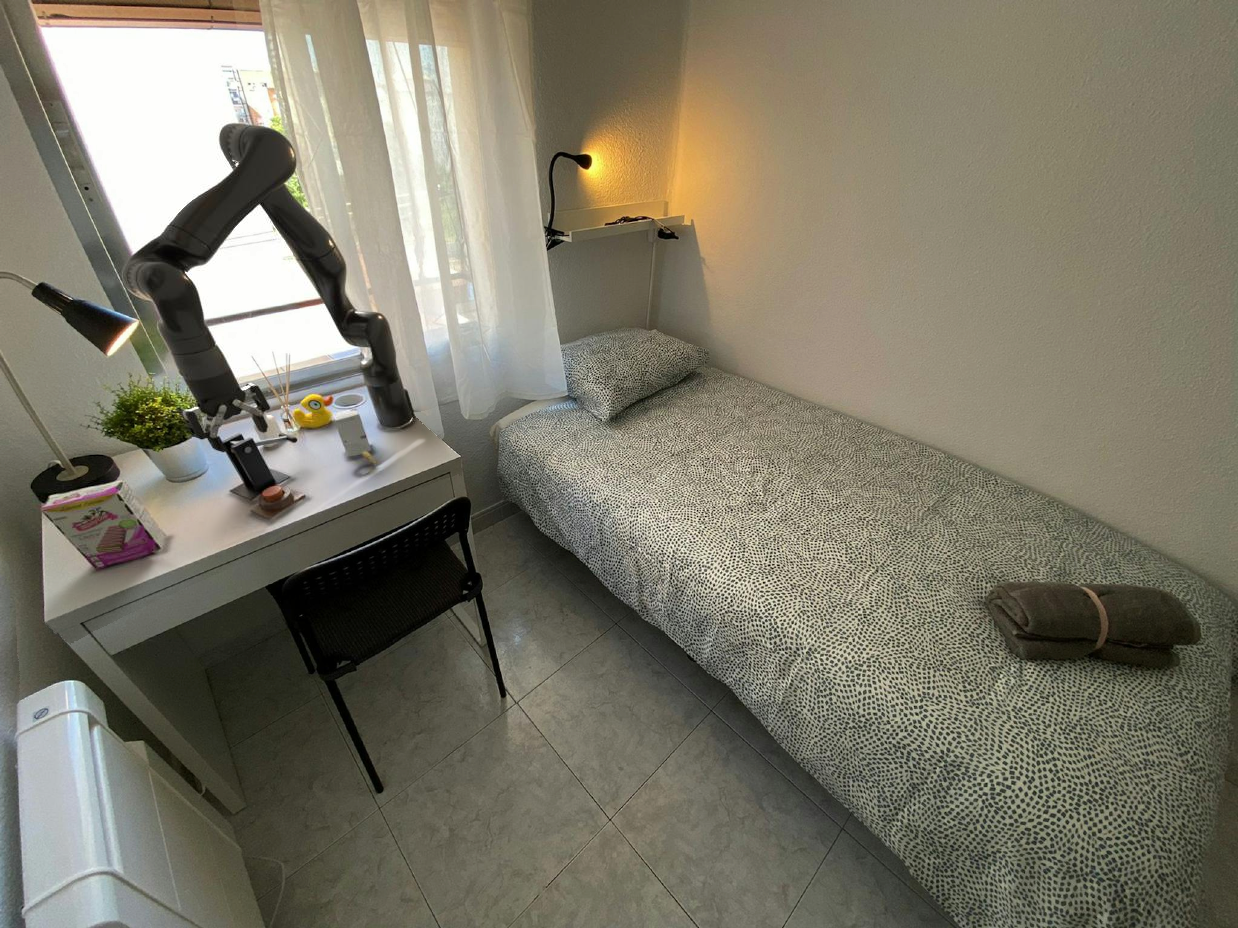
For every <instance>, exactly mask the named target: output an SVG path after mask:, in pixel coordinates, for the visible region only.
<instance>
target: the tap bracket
mask: <svg viewBox="0 0 1238 928" xmlns="http://www.w3.org/2000/svg"><path fill="white" fill-rule="evenodd" d="M238 440H243V441H241V442H239V443H237V444H235V445H233V446H231V447H230V442H233V441H238ZM254 441H255V440H254V438H253V437H250V436H249V437H248V438H246V439H245V437H244V435H243V434H242V433H237V434H234V435H233V436H230V437H228V438H226V439H224V440H222V442H223V444H224V446H225V447H226V449H227V451H225V452H224V453H225V454H226V456H227V457H228V459H229V461H230V462H231V464H232V466H233V468H234V469H235V471H236V473H237V475H238V476H239V478H240V479H241V481H242V483H241V484H238V485H237V486H235V487H233V488H232V489H230V490H229V492H231V493H233V494H236V495H237V496H240V497H243V498H245V499H247V500H249V501H253V500H254V499H256V498H258V497H259V496H260V495H261V494H262V493H263V491H264V490H265V489H267V488H269V487H272V486H279V485H280V484H281V483H283V482H285V481H286V480H288V479H290V478H291V476H290V475H287V474H285V473H282V472H279V471H277V470H276V469H275V470H274V469H272V468H269V466H268V464H267V462H266V460H265V459H264V456H263V455H262V452H261V451H260V449H259V446H256V444H255V442H254ZM231 448H232V450H233V451H234V453H233V452H231Z"/></svg>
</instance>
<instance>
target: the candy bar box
mask: <svg viewBox="0 0 1238 928" xmlns="http://www.w3.org/2000/svg"><path fill="white" fill-rule="evenodd" d="M40 512H41V513H42V514H43V515H44V516H45V517H46V518H47V519H48V520H49V521H50V523H51V524H53V525H54V526H55V528H56V529H57V530H58V531H59V532H60V533H61V534H62V535H63V536H64V537H65V539H67V540H68V541H69V542H70V544H71V545H72V546H73V547H74V548H75V549H76V550H77V551H78V552H79V553H80V554H81V555H82V556H83V558H84V559H85V560H86V561H87V562H88V564H90V565H91V566H92V568H93V569H94V570H96V571H97V570H100V569H105V568H108V567H111V566H115V565H119V564H122V563H126V562H130V561H133V560H137V559H140V558H145V557H148V556H151V555H155V554H156V553H154V551H158V550H161V549H162V548H163V544H164V541H165V540H166V533H164V531H163V530H162V528H161V527H160V525H158V523H157V522H156V520H154V518H153V516H152V515H151V514H150V512H148V510H147V509H146V508H145V506H144V504H143V503H142V502H141V501H140V499H138V497H137V496H136V494H135V492H133V490H132V489H131V487H130V486H129V485H128V484H127V482H126V481H125V480H124V479H120V480H116V481H111V482H107V483H102V484H97V485H94V486H88V487H84V488H79V489H75V490H70V491H65V492H60V493H56V494H51V495H49V496H48V497H47V499H46V501H44V504H43V505H41V508H40Z"/></svg>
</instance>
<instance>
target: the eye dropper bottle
mask: <svg viewBox="0 0 1238 928" xmlns="http://www.w3.org/2000/svg"><path fill="white" fill-rule="evenodd" d="M256 407H257V405H254V408H256ZM263 417H264V419H265V421H266V423H267V425H268V428H267V432H265V433H263V432H260V431H259V430H258V429H257V427H256V425H255V423H254V422H253V428H254V430H255V433H256V434H257V436H258V438H259V440H264V439H270V438H276V437H279V434H280V433H283V432H282V430H281V428H280V426H279V423H278V422H277V420H276V418H275V416H273V415H271V414H270V415H269V414H267V413H266V411H265V412H264V413H263ZM278 443H279V442H277V443H272V444H267V445H262V446H263V447H267V448H271V447H273V446H274V445H276V444H278Z"/></svg>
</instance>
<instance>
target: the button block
mask: <svg viewBox="0 0 1238 928" xmlns="http://www.w3.org/2000/svg"><path fill="white" fill-rule="evenodd" d="M279 487H280V488H281V489H282V491H283V493H284V495H283V496H282V497H281V498H279V499H277V500H274V501H266V499H265V498H264V496H263V493H262V494H261V495H259V496H257V504H256V505H255V506H254V507H251V508H250V509H249V511H250V512H251V513H254V514H256V515H258V516H260V517H263V518H265V519H267V520H271V519H273V518H274V517H276V516H277V515H279V514H281V513H282V512H284V511H285V510H287V509H288V508H289V507H291V506H293V505H294V504H296V503H298V502H299V501H300V500H302V499H304V498H305V497H306V494H304V493H301V492H299V491H296V490H295V489H292V488H290V487H287V486H279Z"/></svg>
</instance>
